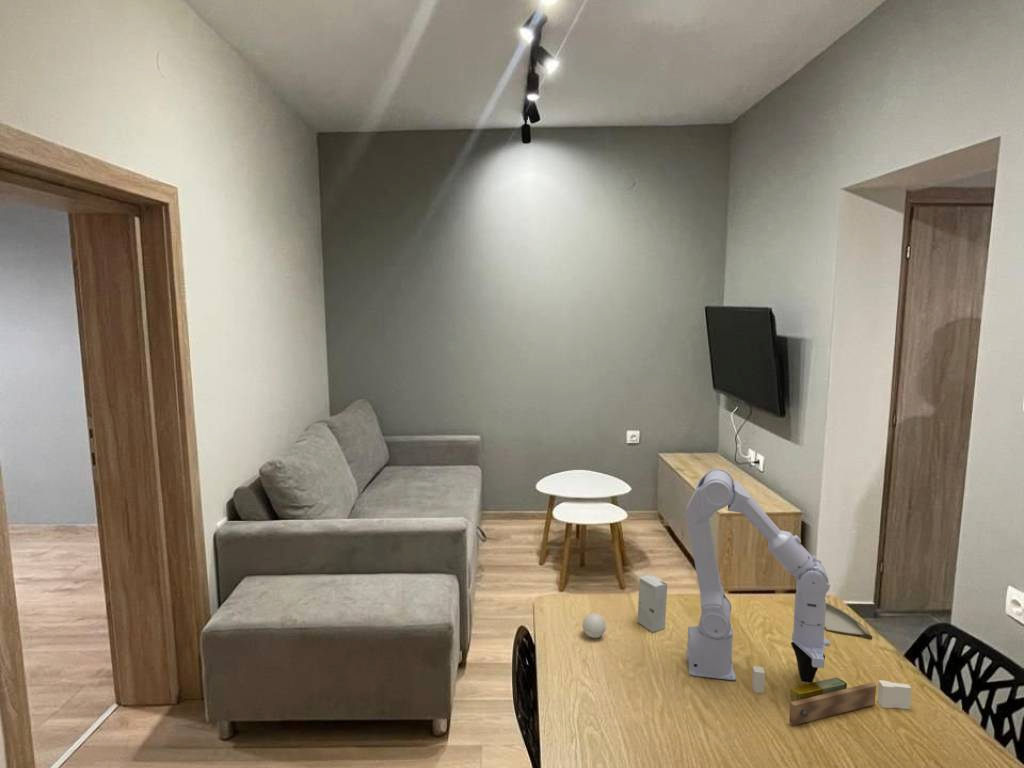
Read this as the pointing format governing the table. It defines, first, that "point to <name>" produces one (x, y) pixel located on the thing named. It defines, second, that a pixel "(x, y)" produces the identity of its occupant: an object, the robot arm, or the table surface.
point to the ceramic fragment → (843, 623)
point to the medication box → (816, 688)
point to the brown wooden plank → (832, 703)
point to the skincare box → (652, 602)
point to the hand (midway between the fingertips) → (806, 680)
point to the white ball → (594, 625)
